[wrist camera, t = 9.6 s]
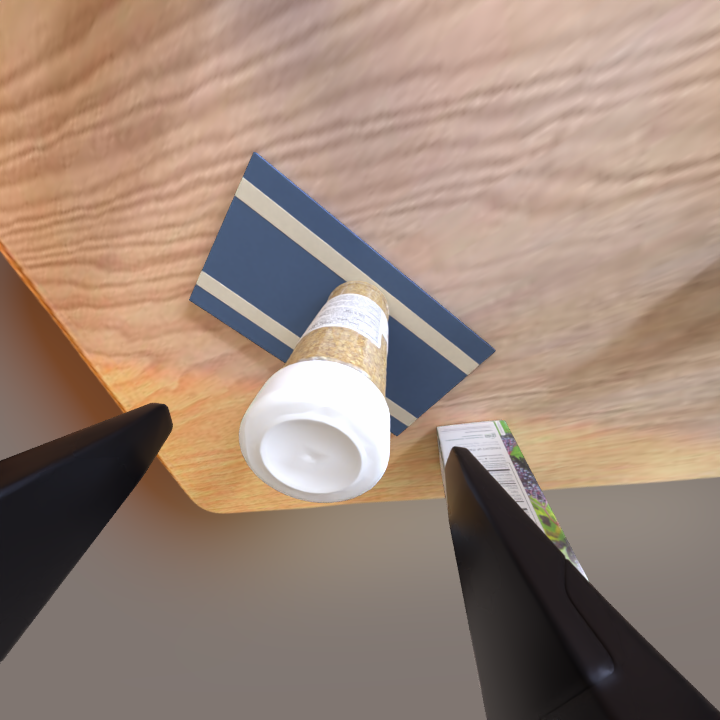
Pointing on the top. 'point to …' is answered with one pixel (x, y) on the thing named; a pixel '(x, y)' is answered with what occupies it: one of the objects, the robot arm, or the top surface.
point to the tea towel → (326, 290)
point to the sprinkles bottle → (326, 404)
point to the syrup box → (505, 473)
